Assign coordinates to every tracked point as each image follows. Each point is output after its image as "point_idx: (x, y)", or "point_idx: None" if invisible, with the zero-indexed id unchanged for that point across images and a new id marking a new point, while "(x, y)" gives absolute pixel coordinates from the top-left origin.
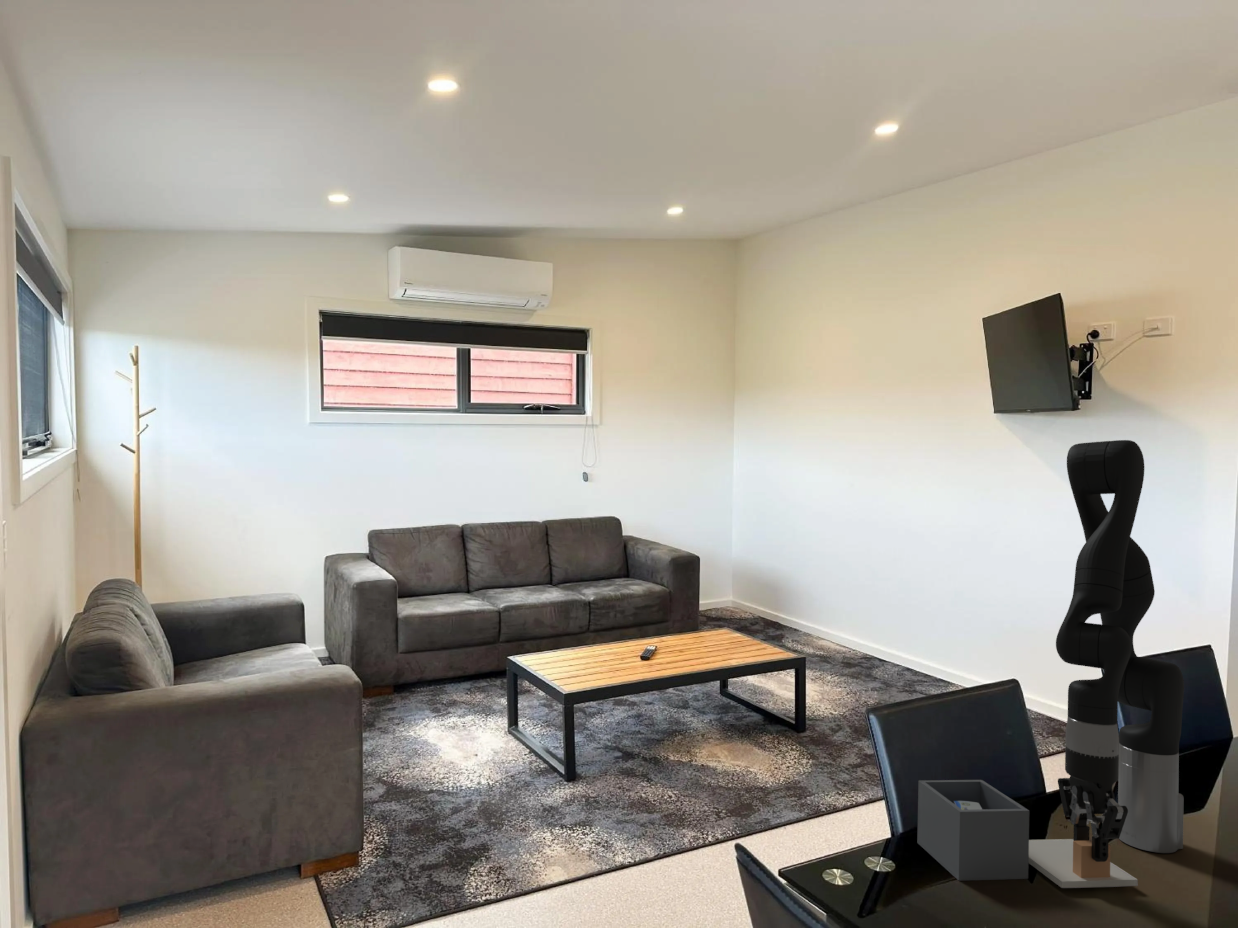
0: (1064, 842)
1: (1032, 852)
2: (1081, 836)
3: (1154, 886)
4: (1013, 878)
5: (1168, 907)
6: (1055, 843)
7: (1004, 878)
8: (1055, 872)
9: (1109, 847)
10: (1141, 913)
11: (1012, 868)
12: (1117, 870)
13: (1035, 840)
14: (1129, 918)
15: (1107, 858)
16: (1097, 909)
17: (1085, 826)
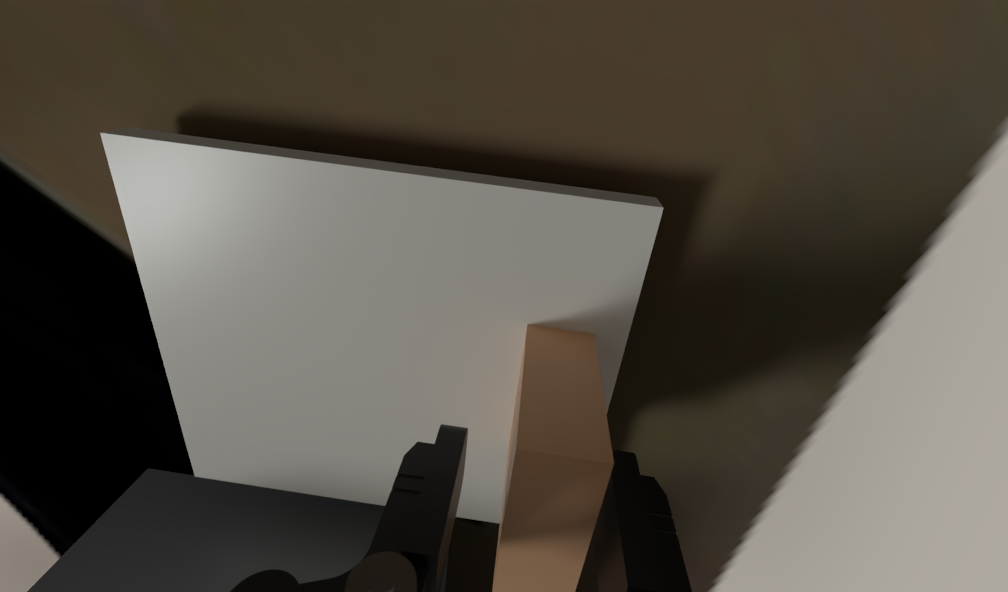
0: (173, 241)
1: (311, 460)
2: (449, 529)
3: (636, 24)
4: (448, 551)
5: (840, 175)
6: (195, 299)
7: (446, 573)
8: (500, 505)
9: (610, 456)
10: (809, 351)
11: (441, 589)
12: (538, 231)
13: (173, 367)
14: (811, 423)
15: (657, 482)
16: (708, 472)
17: (427, 572)
